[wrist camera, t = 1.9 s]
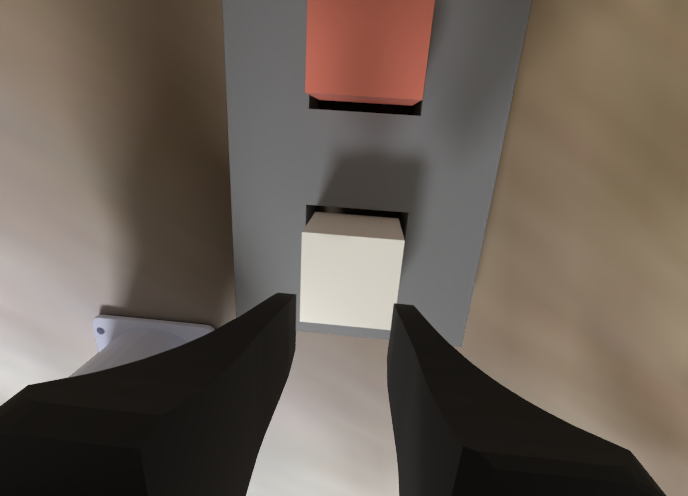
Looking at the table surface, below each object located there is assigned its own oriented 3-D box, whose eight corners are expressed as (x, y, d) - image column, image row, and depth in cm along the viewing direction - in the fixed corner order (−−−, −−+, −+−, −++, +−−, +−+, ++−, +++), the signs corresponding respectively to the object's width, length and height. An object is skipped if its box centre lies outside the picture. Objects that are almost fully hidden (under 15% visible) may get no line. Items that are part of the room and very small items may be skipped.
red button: (411, 105, 15) (422, 100, 12) (319, 99, 15) (304, 92, 12) (424, -4, 14) (440, -45, 11) (323, -9, 14) (308, -50, 11)
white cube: (389, 293, 18) (393, 330, 15) (312, 286, 18) (299, 321, 15) (398, 218, 17) (404, 240, 14) (315, 211, 17) (301, 232, 14)
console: (449, 317, 21) (461, 346, 18) (254, 299, 22) (236, 325, 19) (516, -46, 15) (549, -86, 12) (245, -57, 16) (218, -97, 13)
